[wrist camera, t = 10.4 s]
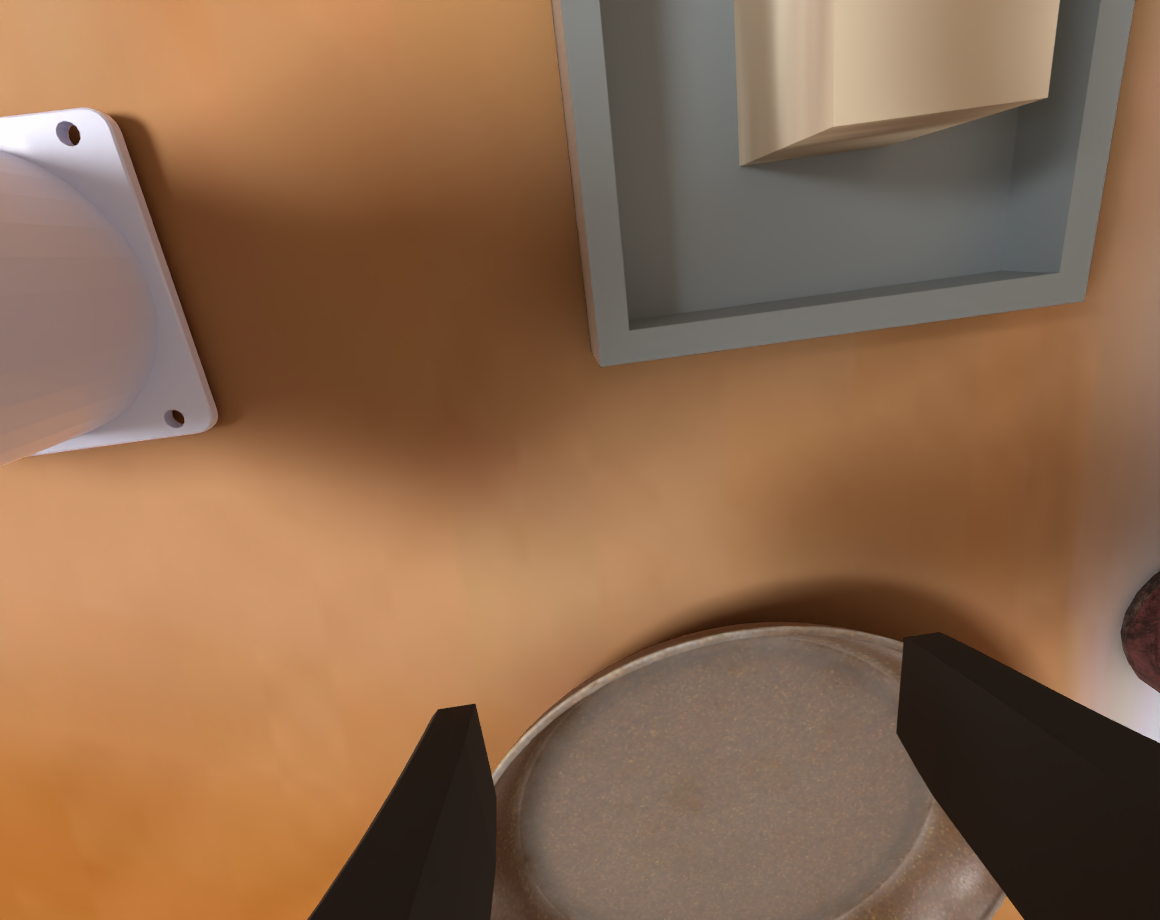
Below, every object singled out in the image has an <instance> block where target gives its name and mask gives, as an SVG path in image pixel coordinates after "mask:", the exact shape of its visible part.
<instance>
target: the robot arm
mask: <svg viewBox="0 0 1160 920" xmlns="http://www.w3.org/2000/svg"><path fill="white" fill-rule="evenodd" d="M74 125H75V126H76V127H77V129H78V130H79V132H80V137H81V139H80V141H79V143H78V144H77V145H73V144H72V142H71V140H70V139H69V133H68V132H69V130H70V127H71V126H74ZM173 410H177V411H179V412H180V413H182V415H183V416H184V421H185V422H184V424H180V423H179V422H177V421H176V420H175V419H174V417H173V413H172V411H173ZM217 420H218V412H217V408H216V405H215V402H214V399H213V397H212V394H211V391H210V388H209V385H208V382H207V379H206V376H205V373H204V370H203V368H202V365H201V362H200V359H199V356H198V353H197V350H196V347H195V344H194V341H193V338H192V336H191V333H190V330H189V327H188V324H187V321H186V318H185V315H184V312H183V309H182V307H181V304H180V301H179V298H178V295H177V292H176V289H175V286H174V283H173V280H172V277H171V275H170V272H169V269H168V266H167V263H166V260H165V257H164V254H163V251H162V248H161V246H160V243H159V240H158V237H157V234H156V231H155V228H154V225H153V222H152V219H151V216H150V214H149V211H148V208H147V205H146V202H145V199H144V196H143V193H142V190H141V187H140V184H139V182H138V179H137V176H136V173H135V170H134V167H133V164H132V161H131V158H130V155H129V153H128V150H127V147H126V144H125V141H124V138H123V135H122V132H121V130H120V128H119V126H118V124H117V123H116V122H115V121H114V120H113V119H112V118H111V117H110V116H109V115H107V114H105V113H103V112H101V111H98V110H95V109H92V108H74V109H66V110H57V111H49V112H40V113H32V114H23V115H15V116H6V117H0V467H3V466H5V465H8V464H10V463H13V462H15V461H18V460H20V459H23V458H25V457H28V456H35V455H43V454H50V453H57V452H65V451H72V450H79V449H87V448H94V447H101V446H109V445H116V444H123V443H130V442H138V441H145V440H152V439H160V438H167V437H174V436H182V435H189V434H196V433H201V432H204V431H207V430H209V429H210V428H212V427H213V426H214V425H215V424H216V423H217ZM896 734H897V735H898V737H899V739H900V741H901V742H902V744H903V746H904V748H905V750H906V751H907V753H908V755H909V757H910V758H911V760H912V762H913V764H914V766H915V767H916V769H917V771H918V772H919V774H920V776H921V777H922V779H923V781H924V782H925V784H926V786H927V787H928V789H929V791H930V792H931V794H932V795H933V797H934V798H935V800H936V801H937V802H938V804H939V805H940V806H941V808H942V809H943V811H944V812H945V813H946V815H947V816H948V817H949V819H950V820H951V822H952V823H953V824H954V826H955V827H956V828H957V830H958V831H959V832H960V834H961V835H962V837H963V838H964V839H965V841H966V842H967V843H968V845H969V846H970V847H971V849H972V850H973V851H974V853H975V854H976V855H977V857H978V858H979V859H980V861H981V862H982V863H983V865H984V866H985V867H986V869H987V870H988V871H989V873H990V874H991V875H992V877H993V878H994V880H995V881H996V882H997V884H998V885H999V886H1000V888H1001V889H1002V890H1003V892H1004V893H1005V894H1006V896H1007V897H1008V898H1009V900H1010V901H1011V902H1012V904H1013V905H1014V906H1015V908H1016V909H1017V910H1018V912H1019V913H1020V914H1021V916H1022V917H1023V918H1024V920H1160V743H1158V742H1156V741H1154V740H1152V739H1150V738H1148V737H1146V736H1143V735H1141V734H1139V733H1137V732H1135V731H1133V730H1131V729H1129V728H1127V727H1125V726H1123V725H1121V724H1119V723H1117V722H1115V721H1113V720H1111V719H1109V718H1107V717H1105V716H1103V715H1101V714H1099V713H1097V712H1095V711H1093V710H1091V709H1089V708H1087V707H1085V706H1083V705H1081V704H1079V703H1077V702H1075V701H1073V700H1071V699H1069V698H1067V697H1065V696H1063V695H1061V694H1060V693H1058V692H1056V691H1054V690H1052V689H1050V688H1048V687H1046V686H1044V685H1042V684H1040V683H1038V682H1036V681H1035V680H1033V679H1031V678H1029V677H1027V676H1025V675H1023V674H1021V673H1019V672H1017V671H1015V670H1014V669H1012V668H1010V667H1008V666H1006V665H1004V664H1002V663H1000V662H998V661H996V660H994V659H992V658H991V657H989V656H987V655H985V654H983V653H981V652H979V651H977V650H975V649H973V648H971V647H969V646H967V645H965V644H963V643H961V642H959V641H957V640H955V639H953V638H951V637H949V636H946V635H944V634H942V633H940V632H938V633H931V634H925V635H918V636H912V637H905V638H904V642H903V655H902V667H901V679H900V692H899V704H898V716H897V729H896ZM496 834H497V796H496V792H495V787H494V783H493V779H492V774H491V770H490V765H489V761H488V757H487V752H486V748H485V744H484V739H483V735H482V731H481V726H480V722H479V717H478V713H477V709H476V704H470V705H464V706H457V707H451V708H444V709H438V710H437V712H436V713H435V714H434V715H433V717H432V719H431V720H430V722H429V724H428V726H427V728H426V730H425V732H424V734H423V735H422V737H421V739H420V741H419V743H418V745H417V746H416V748H415V750H414V752H413V754H412V755H411V757H410V759H409V761H408V763H407V764H406V766H405V768H404V770H403V771H402V773H401V775H400V777H399V778H398V780H397V782H396V784H395V785H394V787H393V789H392V790H391V792H390V794H389V795H388V797H387V799H386V800H385V802H384V804H383V805H382V807H381V808H380V810H379V812H378V813H377V815H376V817H375V818H374V820H373V822H372V823H371V825H370V827H369V828H368V830H367V832H366V833H365V835H364V836H363V838H362V839H361V841H360V843H359V844H358V846H357V847H356V849H355V850H354V852H353V853H352V855H351V856H350V858H349V859H348V861H347V862H346V864H345V865H344V867H343V868H342V870H341V871H340V873H339V874H338V876H337V877H336V879H335V880H334V882H333V883H332V885H331V886H330V888H329V889H328V891H327V892H326V894H325V895H324V897H323V898H322V900H321V901H320V902H319V904H318V905H317V907H316V908H315V910H314V911H313V912H312V914H311V915H310V917H309V918H308V919H307V920H490V918H491V909H492V900H493V890H494V880H495V871H496Z"/></svg>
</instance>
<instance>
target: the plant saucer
mask: <svg viewBox="0 0 1160 920" xmlns="http://www.w3.org/2000/svg"><path fill="white" fill-rule="evenodd" d="M902 655H903V642H900V641H897V640H894V639H890V638H887V637H883V636H880V635H876V634H872V633H868V632H864V631H859V630H855V629H850V628H844V627H837V626H830V625H822V624H812V623H798V622H760V623H746V624H737V625H730V626H724V627H718V628H713V629H708V630H703V631H699V632H695V633H690V634H686V635H683V636H680V637H677V638H674V639H671V640H668V641H665V642H662V643H659V644H656V645H654V646H651V647H648V648H646V649H644V650H642V651H639V652H637V653H635V654H633V655H631V656H628V657H626V658H624V659H623V660H621V661H619V662H617V663H615V664H613V665H611V666H609V667H607V668H606V669H604V670H602V671H601V672H599V673H597V674H596V675H594V676H593V677H591V678H589V679H588V680H586V681H585V682H583V683H582V684H581V685H579V686H578V687H576V688H575V689H573V690H572V691H571V692H569V693H568V694H567V695H566V696H564V697H563V698H562V699H561V700H559V701H558V702H557V703H556V704H554V705H553V706H552V707H551V708H549V709H548V710H547V711H546V712H545V713H544V714H543V715H542V716H541V717H540V718H539V719H538V720H537V721H536V722H535V723H534V724H533V725H532V726H530V727H529V728H528V730H527V731H526V732H525V733H524V734H523V735H522V736H521V738H520V739H519V740H518V741H517V742H516V743H515V744H514V746H513V747H512V748H511V750H510V751H509V752H508V753H507V755H506V756H505V757H504V758H503V760H502V761H501V762H500V764H499V765H498V766H497V768H496V769H495V770H494V772H493V773H492V779H493V783H494V787H495V792H496V796H497V834H496V871H495V880H494V890H493V900H492V909H491V918H490V920H991V919H992V917H993V916H994V914H995V913H996V911H997V910H998V909H999V908H1000V906H1001V905H1002V903H1003V901H1004V899H1005V897H1006V894H1005V893H1004V892H1003V890H1002V889H1001V888H1000V886H999V885H998V884H997V882H996V881H995V880H994V878H993V877H992V875H991V874H990V873H989V871H988V870H987V869H986V867H985V866H984V865H983V863H982V862H981V861H980V859H979V858H978V857H977V855H976V854H975V853H974V851H973V850H972V849H971V847H970V846H969V845H968V843H967V842H966V841H965V839H964V838H963V837H962V835H961V834H960V832H959V831H958V830H957V828H956V827H955V826H954V824H953V823H952V822H951V820H950V819H949V817H948V816H947V815H946V813H945V812H944V811H943V809H942V808H941V806H940V805H939V804H938V802H937V801H936V800H935V798H934V797H933V795H932V794H931V792H930V791H929V789H928V787H927V786H926V784H925V782H924V781H923V779H922V777H921V776H920V774H919V772H918V771H917V769H916V767H915V766H914V764H913V762H912V760H911V758H910V757H909V755H908V753H907V751H906V750H905V748H904V746H903V744H902V742H901V741H900V739H899V737H898V735H897V734H896V729H897V716H898V704H899V692H900V679H901V667H902Z"/></svg>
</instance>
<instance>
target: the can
mask: <svg viewBox="0 0 1160 920" xmlns="http://www.w3.org/2000/svg"><path fill="white" fill-rule="evenodd" d="M1121 638H1122V646H1123V650H1124V653H1125V655H1126V658H1127V660H1128V662H1129V664H1130V666H1131V667H1132V669H1133V670H1134V672H1135V673H1136V675H1137V676H1138V678H1139V679H1141V680H1142V681H1144V682H1145V683H1146V684H1148V685H1149V686H1151V687H1152V688H1154V689H1155V690H1156V691H1158V692H1159V693H1160V572H1159V573H1157V574H1156V575H1154V577H1153V578H1152V579H1151V580H1150V581H1149V582H1148V583H1147V584H1146V585H1145V586H1144V587H1143V588H1142V589H1141V590H1140V591H1139V592H1138V593H1137V595H1136V596H1135V598H1134V600H1133V601H1132V603H1131V605H1130V607H1129V608H1128V610H1127V612H1126V614H1125V618H1124V622H1123V625H1122V629H1121Z"/></svg>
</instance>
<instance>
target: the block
mask: <svg viewBox="0 0 1160 920" xmlns="http://www.w3.org/2000/svg"><path fill="white" fill-rule="evenodd" d="M1059 3H1060V0H734V23H735V52H736V81H737V109H738V138H739V166H745V165H752V164H760V163H767V162H774V161H781V160H789V159H796V158H803V157H811V156H818V155H825V154H832V153H840V152H847V151H854V150H862V149H869V148H876V147H883V146H890V145H893V144H896V143H900V142H903V141H906V140H910V139H913V138H916V137H920V136H923V135H926V134H929V133H933V132H936V131H939V130H943V129H946V128H949V127H953V126H956V125H959V124H962V123H966V122H969V121H972V120H976V119H979V118H982V117H986V116H989V115H992V114H995V113H999V112H1002V111H1005V110H1009V109H1012V108H1015V107H1019V106H1022V105H1025V104H1028V103H1032V102H1035V101H1038V100H1042V99H1045V98H1048V92H1049V84H1050V76H1051V68H1052V60H1053V52H1054V44H1055V35H1056V27H1057V19H1058V11H1059Z"/></svg>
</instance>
